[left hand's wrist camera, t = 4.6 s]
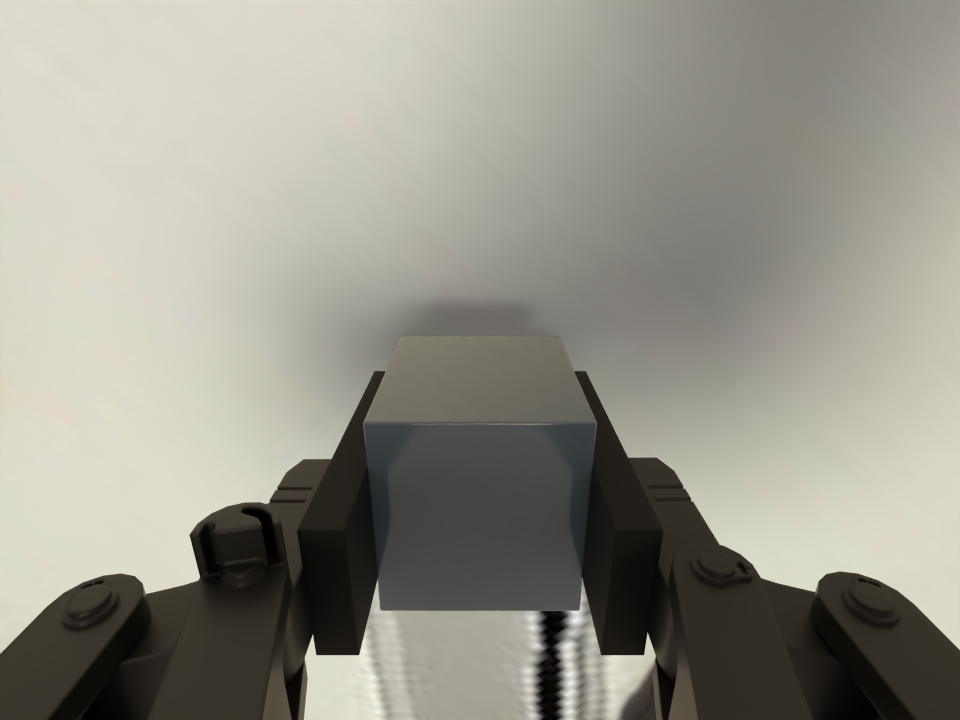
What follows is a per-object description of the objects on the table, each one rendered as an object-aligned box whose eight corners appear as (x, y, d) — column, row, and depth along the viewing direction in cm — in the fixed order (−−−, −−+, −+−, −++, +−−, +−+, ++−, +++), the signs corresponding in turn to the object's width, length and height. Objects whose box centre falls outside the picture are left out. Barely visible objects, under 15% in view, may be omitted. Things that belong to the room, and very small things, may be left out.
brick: (400, 335, 14) (362, 422, 9) (559, 335, 14) (597, 422, 9) (409, 478, 16) (379, 611, 11) (550, 478, 16) (580, 611, 11)
